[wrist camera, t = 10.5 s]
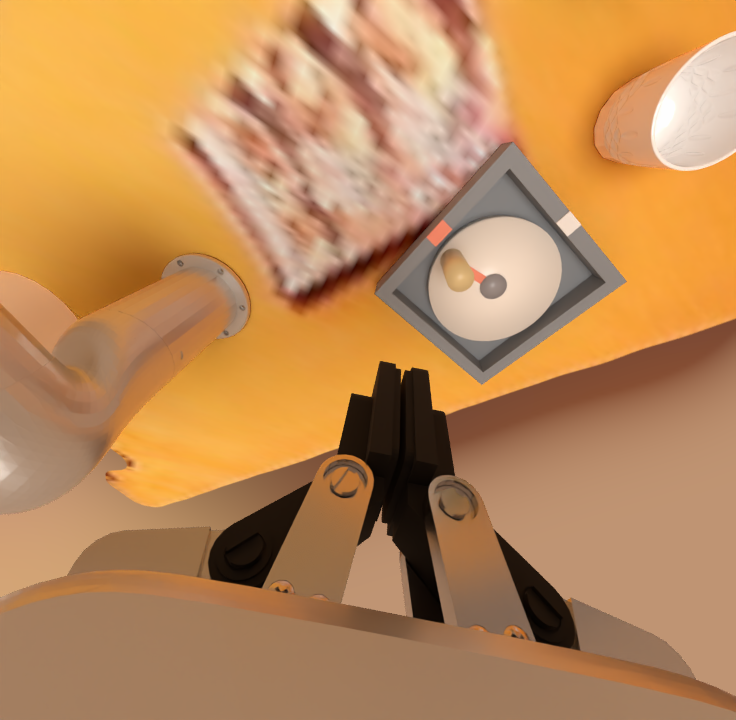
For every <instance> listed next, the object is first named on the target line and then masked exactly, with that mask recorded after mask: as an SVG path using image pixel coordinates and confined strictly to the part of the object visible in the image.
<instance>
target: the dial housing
mask: <svg viewBox="0 0 736 720" xmlns="http://www.w3.org/2000/svg"><path fill="white" fill-rule="evenodd" d="M494 215H510V216H515V217H520V218H522V219H525V220H527V221H530V222H532V223H534V224H535V225H537V226H539V227H541V228H542V229H543V230H544V231H545V232H547V233H548V234H549V236H550V237H551V238H552V239H553V241H554V242H555V244H556V246H557V248H558V251H559V253H560V257H561V262H562V274H561V281H560V285H559V288H558V291H557V293H556V296H555V298H554V299H553V301H552V303H551V304H550V306H549V307H548V309H547V310H546V311H545V312H544V313H543V315H542V316H541V317H540V318H539V319H538V320H536V321H535V322H534V323H533V324H532V325H530V326H529V327H527V328H526V329H524V330H522V331H521V332H519V333H517V334H515V335H512V336H509V337H507V338H503V339H499V340H493V341H475V340H469V339H466V338H463V337H460V336H458V335H456V334H454V333H452V332H451V331H449V330H448V329H447V328H446V327H444V326H443V325H442V324H441V322H440V321H439V320H438V319H437V317H436V315H435V314H434V311H433V309H432V306H431V303H430V298H429V292H428V277H429V272H430V268H431V265H432V262H433V260H434V258H435V256H436V254H437V252H438V251H439V249H440V248H441V246H442V245H443V244H444V242H445V241H446V240H447V239H448V238H449V237H450V236H451V235H452V234H454V233H455V232H456V231H457V230H459V229H460V228H462V227H463V226H465V225H466V224H469V223H471V222H473V221H475V220H478V219H481V218H484V217H488V216H494ZM625 282H627V281H626V280H625V279H624V277H623V276H622V275H621V274H620V273H619V271H618V270H617V269H616V268H615V266H614V265H613V264H612V263H611V262H610V260H609V259H608V258H607V257H606V255H605V254H604V253H603V252H602V250H601V249H600V248H599V247H598V246H597V244H596V243H595V242H594V241H593V239H592V238H591V237H590V236H589V235H588V233H587V232H586V231H585V230H584V228H583V227H582V226H581V224H580V223H579V221H578V220H577V219H576V218H575V217H574V215H573V214H572V213H571V212H570V211H569V210H568V209H567V208H566V206H565V205H564V204H563V203H562V201H561V200H560V199H559V198H558V196H557V195H556V194H555V193H554V192H553V190H552V189H551V188H550V187H549V185H548V184H547V183H546V182H545V181H544V179H543V178H542V177H541V176H540V174H539V173H538V172H537V171H536V169H535V168H534V167H533V166H532V165H531V163H530V162H529V161H528V160H527V158H526V157H525V156H524V155H523V154H522V152H521V151H520V150H519V149H518V147H517V146H516V145H515V144H514V142H510V143H504V144H501V146H500V147H499V148H498V149H497V150H496V151H495V152H494V153H493V155H492V156H491V157H490V158H489V159H488V160H487V161H486V162H485V163H484V165H483V166H482V167H481V168H480V169H479V170H478V171H477V172H476V174H475V175H474V176H473V177H472V178H471V179H470V180H469V181H468V182H467V184H466V185H465V186H464V187H463V188H462V189H461V190H460V191H459V192H458V194H457V195H456V196H455V197H454V198H453V199H452V200H451V201H450V203H449V204H448V205H447V206H446V207H445V208H444V209H443V210H442V211H441V213H440V214H439V215H438V216H437V217H436V218H435V219H434V220H433V222H432V223H431V224H430V225H429V226H428V227H427V228H426V229H425V230H424V232H423V233H422V234H421V235H420V236H419V237H418V238H417V239H416V240H415V242H414V243H413V244H412V245H411V246H410V247H409V248H408V249H407V251H406V252H405V253H404V254H403V255H402V256H401V257H400V258H399V259H398V261H397V262H396V263H395V264H394V265H393V266H392V267H391V268H390V270H389V271H388V272H387V273H386V274H385V275H384V276H383V277H382V278H381V280H380V281H379V282H378V283H377V286H376V290H375V295H376V296H378V297H379V298H380V299H381V300H382V301H383V302H385V303H386V304H387V305H388V306H389V307H391V308H392V309H393V310H394V311H395V312H396V313H398V314H399V315H400V316H401V317H402V318H404V319H405V320H406V321H407V322H408V323H409V324H411V325H412V326H413V327H414V328H415V329H417V330H418V331H419V332H420V333H421V334H422V335H424V336H425V337H426V338H427V339H428V340H430V341H431V342H432V343H433V344H434V345H435V346H437V347H438V348H439V349H440V350H441V351H442V352H444V353H445V354H446V355H447V356H448V357H450V358H451V359H452V360H453V361H454V362H455V363H457V364H458V365H459V366H460V367H461V368H463V369H464V370H465V371H466V372H467V373H468V374H470V375H471V376H472V377H473V378H474V379H476V380H477V381H478V382H479V383H480V384H481V385H482V384H483V383H485V382H486V381H488V380H489V379H490V378H492V377H493V376H495V375H496V374H497V373H499V372H500V371H502V370H503V369H504V368H506V367H507V366H509V365H510V364H512V363H513V362H514V361H516V360H517V359H519V358H520V357H521V356H523V355H524V354H526V353H527V352H528V351H530V350H531V349H533V348H534V347H535V346H537V345H538V344H540V343H541V342H542V341H544V340H545V339H547V338H548V337H549V336H551V335H552V334H554V333H555V332H556V331H558V330H559V329H561V328H562V327H563V326H565V325H566V324H568V323H569V322H571V321H572V320H573V319H575V318H576V317H578V316H579V315H580V314H582V313H583V312H585V311H586V310H587V309H589V308H590V307H592V306H593V305H594V304H596V303H597V302H599V301H600V300H601V299H603V298H604V297H606V296H607V295H608V294H610V293H611V292H613V291H614V290H615V289H617V288H618V287H620V286H621V285H622V284H624V283H625Z"/></svg>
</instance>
